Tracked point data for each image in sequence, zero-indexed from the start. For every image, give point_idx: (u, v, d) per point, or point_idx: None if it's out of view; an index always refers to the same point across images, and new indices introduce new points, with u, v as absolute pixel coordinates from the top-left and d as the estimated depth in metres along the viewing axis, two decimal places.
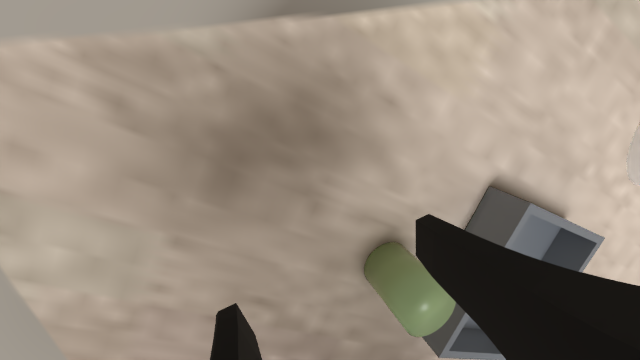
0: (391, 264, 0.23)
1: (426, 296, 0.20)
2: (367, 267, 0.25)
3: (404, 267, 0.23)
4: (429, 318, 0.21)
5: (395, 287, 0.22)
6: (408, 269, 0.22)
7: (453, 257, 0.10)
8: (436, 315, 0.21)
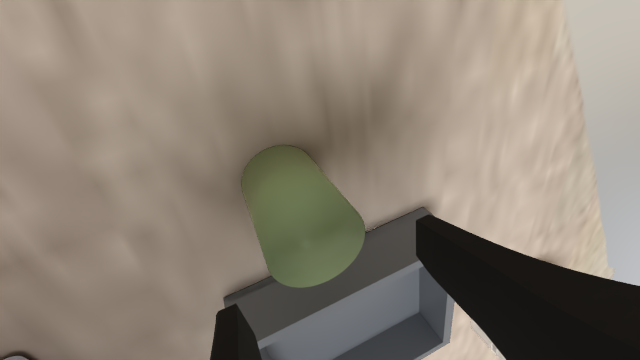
0: (306, 164, 0.14)
1: (340, 214, 0.12)
2: (263, 154, 0.15)
3: (323, 176, 0.14)
4: (308, 256, 0.12)
5: (299, 182, 0.13)
6: (328, 180, 0.14)
7: (453, 257, 0.10)
8: (318, 260, 0.13)
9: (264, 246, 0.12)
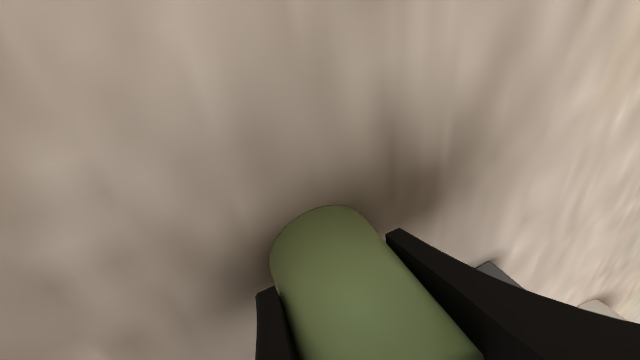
0: (373, 245, 0.09)
1: None
2: (303, 223, 0.10)
3: (403, 268, 0.09)
4: None
5: (377, 292, 0.08)
6: (412, 276, 0.09)
7: (420, 275, 0.10)
8: None
9: None
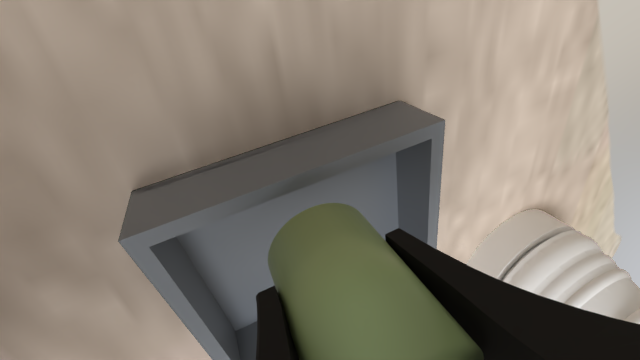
0: (371, 242, 0.09)
1: (455, 357, 0.07)
2: (301, 221, 0.10)
3: (401, 264, 0.09)
4: None
5: (374, 288, 0.08)
6: (410, 272, 0.09)
7: (420, 275, 0.10)
8: None
9: None
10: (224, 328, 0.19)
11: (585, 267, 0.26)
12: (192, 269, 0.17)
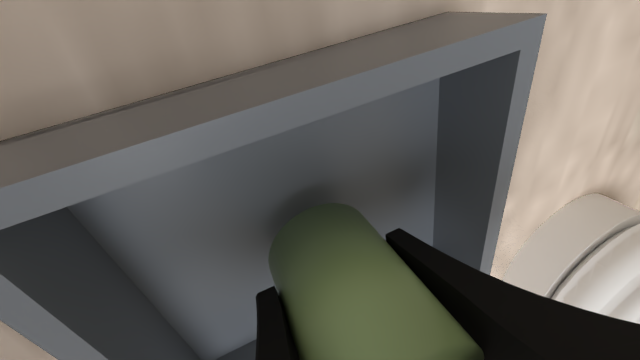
0: (371, 242, 0.09)
1: (455, 356, 0.07)
2: (301, 221, 0.10)
3: (401, 264, 0.09)
4: None
5: (374, 289, 0.08)
6: (410, 272, 0.09)
7: (420, 275, 0.10)
8: None
9: None
10: None
11: None
12: (119, 280, 0.11)
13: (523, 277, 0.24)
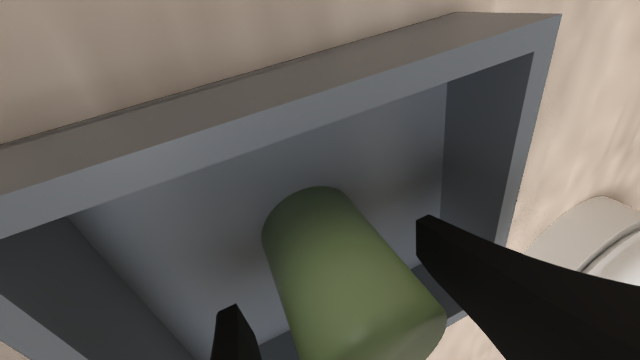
0: (353, 219, 0.10)
1: (419, 313, 0.08)
2: (291, 202, 0.12)
3: (379, 238, 0.10)
4: None
5: (352, 257, 0.09)
6: (386, 246, 0.10)
7: (453, 258, 0.10)
8: None
9: None
10: None
11: None
12: (118, 288, 0.10)
13: None
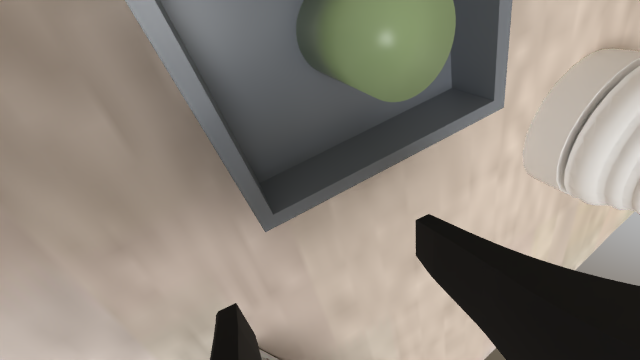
0: None
1: None
2: None
3: None
4: (395, 51, 0.11)
5: None
6: None
7: (453, 258, 0.10)
8: (404, 62, 0.11)
9: (346, 36, 0.10)
10: (243, 156, 0.15)
11: None
12: (189, 56, 0.13)
13: (543, 134, 0.25)
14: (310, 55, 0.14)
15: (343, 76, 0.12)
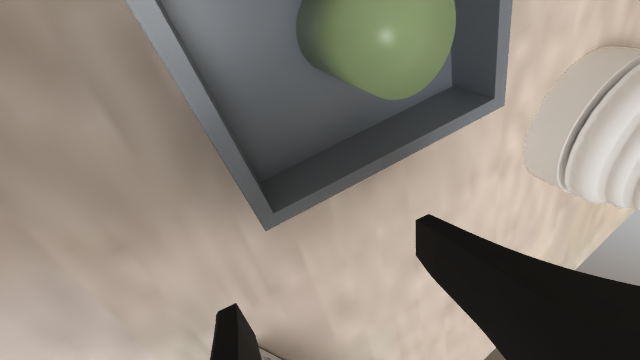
0: None
1: None
2: None
3: None
4: (395, 49, 0.11)
5: None
6: None
7: (453, 258, 0.10)
8: (404, 59, 0.11)
9: (345, 33, 0.10)
10: (243, 155, 0.15)
11: None
12: (189, 54, 0.13)
13: (544, 133, 0.25)
14: (310, 53, 0.14)
15: (343, 74, 0.12)
